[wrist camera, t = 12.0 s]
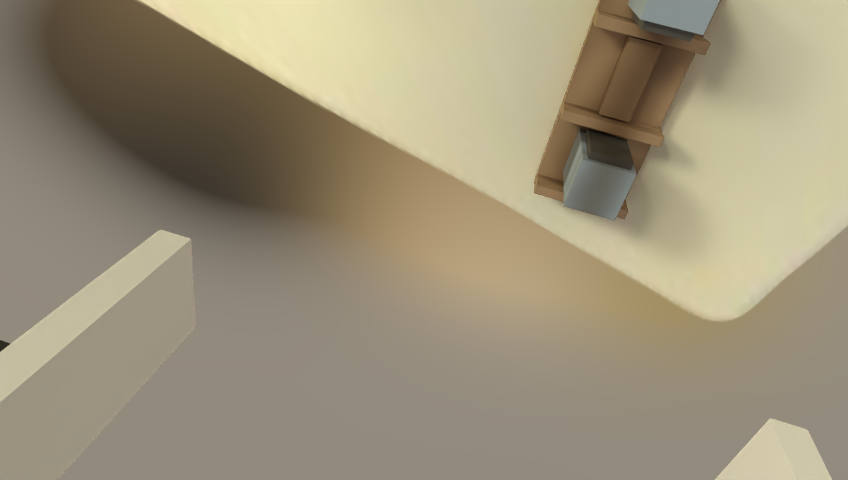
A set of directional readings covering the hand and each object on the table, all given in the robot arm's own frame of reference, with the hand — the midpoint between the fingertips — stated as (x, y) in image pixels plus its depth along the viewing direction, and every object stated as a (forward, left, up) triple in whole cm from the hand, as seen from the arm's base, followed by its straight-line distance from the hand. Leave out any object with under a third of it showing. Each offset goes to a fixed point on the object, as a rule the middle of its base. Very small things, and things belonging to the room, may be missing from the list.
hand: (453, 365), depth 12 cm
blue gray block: (+8, +7, -36) cm, 37 cm away
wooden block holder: (+8, 0, -37) cm, 38 cm away
